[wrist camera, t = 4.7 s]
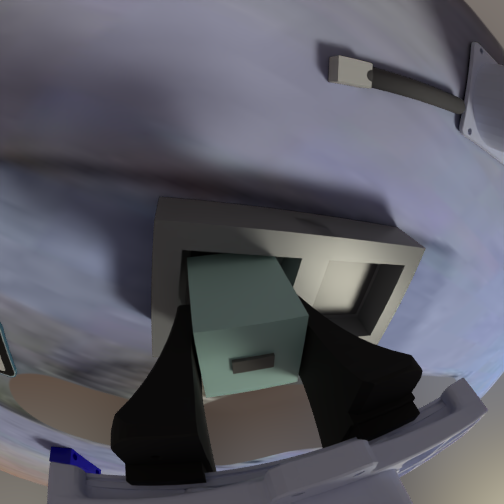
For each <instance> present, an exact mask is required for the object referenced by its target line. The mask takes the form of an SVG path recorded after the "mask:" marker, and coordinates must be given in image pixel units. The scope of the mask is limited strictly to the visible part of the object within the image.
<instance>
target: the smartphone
mask: <svg viewBox="0 0 504 504" xmlns="http://www.w3.org/2000/svg"><path fill="white" fill-rule="evenodd" d="M0 374H3V375H6V376H9V377H15V376H16V374H17V370H16V367H15V365H14V362H13V358H12V356H11V353H10V351H9V346H8V343H7V340H6V337H5V333H4V329H3V326H2V324H1V322H0Z"/></svg>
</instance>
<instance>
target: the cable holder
mask: <svg viewBox="0 0 504 504" xmlns="http://www.w3.org/2000/svg"><path fill="white" fill-rule="evenodd" d="M49 461H50V462H56V463H62V464H69V465H74V466H77V467H79V468H81V469H82V470H83V471H85V473H92V474H101V470H100V469H99V468H97V467H96V466H94V465H93V464H92V463H90V462H89V461H87V460H86V459H85V458H83V457H82V456H81V455H79V454H78V453H77V452H76V451H74V450H73V449H72V448H61V447H51V451H50V460H49Z"/></svg>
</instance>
